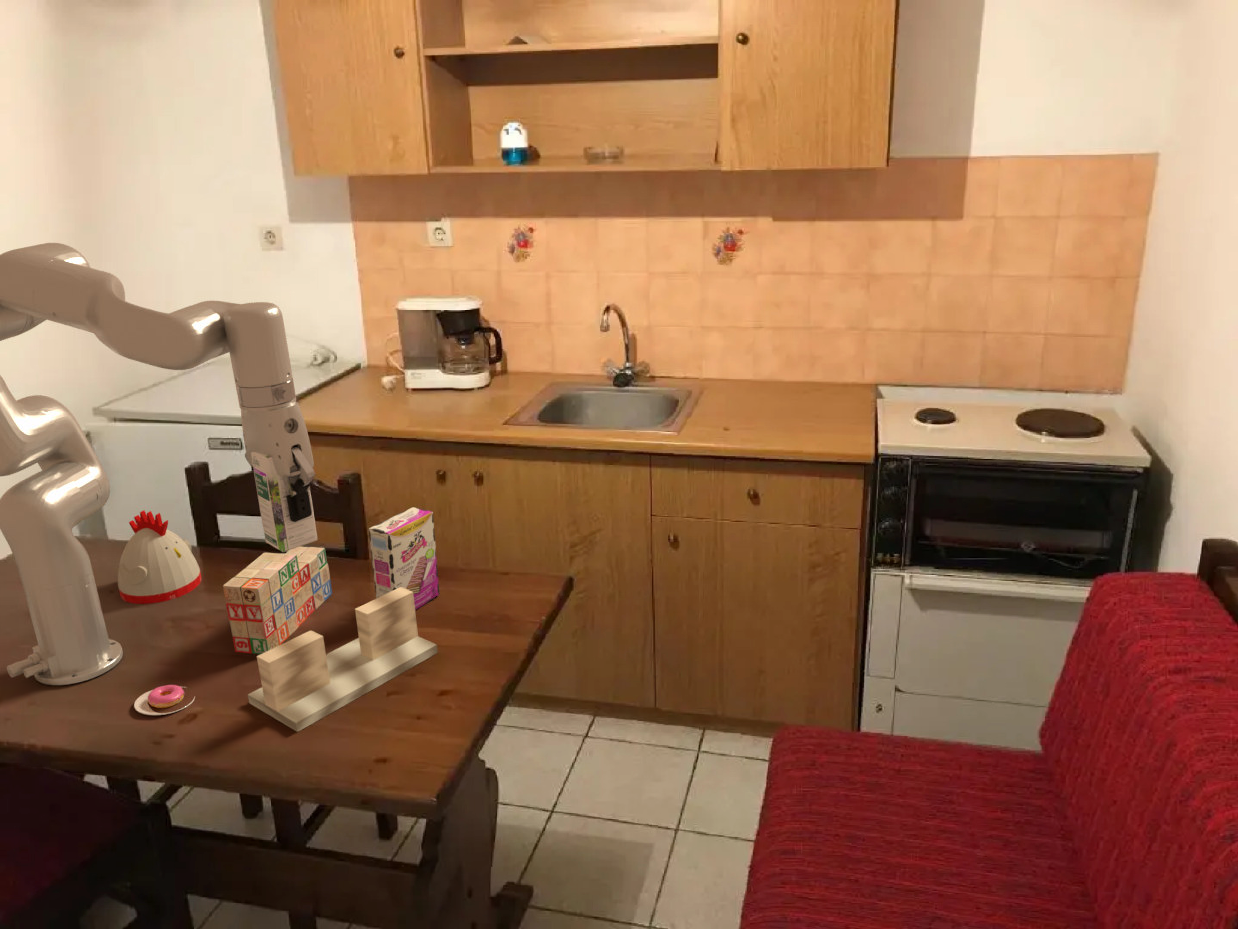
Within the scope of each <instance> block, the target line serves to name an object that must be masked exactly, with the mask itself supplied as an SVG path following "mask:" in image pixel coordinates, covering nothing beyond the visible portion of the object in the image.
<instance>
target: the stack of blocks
mask: <svg viewBox="0 0 1238 929" xmlns="http://www.w3.org/2000/svg"><path fill="white" fill-rule="evenodd" d="M329 569H330V568H329V564H328V561H327V553H326V548H325V547H317V546H300V547H297V548H294V549H291V550H289V551H286V553H285V552H284V553H275V552H274V553H273V552H263V553H262V554H261V555H260V556H258V557H257V558H256V559H255V560H254V561H252V562H250V564H248V565H247V566H246V567H245V568H243V569H242V570H241V571H240V572H238V573H237V574H236V575H234V577H232V578H230V580H228V581H227V582H226V583H224V584H223V585H222V587H223V592H224V598H225V606H226V608H225V609H226V611H227V612H226V613H227V619H228V620H229V626H230V630H231V635H232V642H233V647H234V652H236V653H243V654H256V655H261V654H263V653H265V652H267V651H269V650H271V649H273V648H275V647H277V646H279V645H281V644H283V643H285V641H286V640H287V639H288V638H289V637H290V636H291V635H292V634H293V633H295V632H296V631H297V629H298V628H299V627H300V626H301V625H302V624H303V623H304V622H305V621H306V620H307V619H308V618H309V617H310V616H311V615H312V614H313V612H315V611H316V610H317V609H318V608H319V607H320V606H321V605H323V603H325V602H326V601H327V599H329V598H330V596H332V595H333V591H332V590H333V589H332V582H331V575H330V570H329Z"/></svg>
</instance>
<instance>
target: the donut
mask: <svg viewBox="0 0 1238 929" xmlns="http://www.w3.org/2000/svg"><path fill="white" fill-rule="evenodd" d="M183 688H185V689H187V687H186V686H181V685H180V686H179V685H176V684H167V685H162V686H158V687H155V688H154V689H152V690H149V691H147V692H144V693H143V694H141V695H140V696H139V697H138V698H137V699H136V700H135V701H134V703H133V708H134V709H135V711H136V712H138V713H140V714H142V715H146V716H163V715H169V714H174V713H176V712H179V711H183V709H186V708H187V707H189V706H190V705H192V703H193V702H194V701H195V698H196V696H194V697H193V698H192V701H190V703H188V704H187V705H185V706H184V707H181V708H180V709H177V710H174V711H168V712H156V711H155V710H153V709H152V708H151V707H150V706H152V707H153V708H157V709H167V708H170V707H173V706H175V705H177V704H179V703H180V702H182V701H183V699H184V696H185V691H184V689H183Z"/></svg>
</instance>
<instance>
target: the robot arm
mask: <svg viewBox="0 0 1238 929" xmlns="http://www.w3.org/2000/svg"><path fill="white" fill-rule="evenodd" d="M46 321H51V322H53V323H57V324H61V325H64V326H68V327H71V328H75V329H78V330H81V331H85V332H87V333H88V332H89V333H92V334H94V335H95V337H96V338H97V340H98V341H99V342H100V343H102V344H103V345H104V346H106V347H107V348H108V349H109V350H111V351H112V352H114V353H115V354H117V355H118V356H121V357H124V358H126V359H129V360H131V361H134V362H139V363H142V364H145V365H149V366H152V367H157V368H159V369H164V370H172V371H186V370H191V369H194V368H196V367H198V366H200V365H202V364H204V363H206V362H208V361H210V360H213V359H216V358H218V357H221V356H223V355H225V354H229V358H230V363H231V368H232V369H231V370H232V373H233V378H234V384H235V389H236V395H237V400H238V405H239V409H240V415H241V416H240V418H241V428H242V436H243V442H244V444H243V445H244V449H245V454H244V457H245V459H246V461H247V462H248V464H249V466H250V469H251V471H252V472H253V474H254V469H253V463H252V457H251V452H257V453H260V454H264V455H268V456H272V459H273V462H274V466H275V469H276V472H277V475H279V476H282V477H283V480H284V482H285V485H286V487H287V490H288V493H289V495H287V496H286V497H287V503H288V509H289V514H290V520H291V521H292V522H297V521H299V520H302V519H304V518H307V517H309V516H311V515H312V511H311V505H310V499H309V493H308V491H309V490H310V491H311V485H312V481H313V479H314V478H315V476H316V471H315V470H314V465H315V462H314V456H313V451H312V446H311V442H310V437H309V434H308V428H307V426H306V425H307V424H306V421H305V418H304V416H303V412H302V410H301V407H300V405H299V402H297V395H296V389H295V384H294V377H293V372H292V365H291V358H290V353H289V347H288V341H287V335H286V329H285V323H284V317H283V313H282V311H281V308H280V307H279V305H276V304H275V303H272V302H266V301H263V302H262V301H259V302H258V301H256V302H255V301H254V302H247V303H245V302H244V303H235V302H229V301H221V300H204V301H201V302H198V303H195V304H192V305H188V306H186V307H183V308H181V309H178V310H177V309H176V310H175V311H172V312H170V313H168V312H162V311H158V310H154V309H150V308H146V307H142V306H139V305H136V304H133V303H130V302H128V301H126V292H125V288H124V284H123V282H122V281H121V279H119V278H118V277H117V275H115V274H113V273H110V272H107V271H104V270H99V269H96V268H92V267H91V265H90V263H89V262H88V260H87V258H85V256H84V255H83V254H82V253H81V252H80V251H78V250H77V249H76V248H74V247H72V246H70V245H67V244H64V243H61V242H60V243H59V242H45V243H41V244H35V245H31V246H25V247H21V248H14V249H11V250H10V249H9V251H6V252H3V253H1V254H0V342H1V341H4V340H5V341H6V340H8V339H10V338H14V337H17V336H19V335H22V334H25V333H26V332H29V331H30V330H32V329H34V328H36V327H37V326H39V325H41V324H42V323H43V322H46ZM6 383H7V382H5V379H4V378H3V377H2V376H1V375H0V477H6V476H11V475H15V474H16V473H19V472H21V471H23V470H26V469H27V468H30V467H32V466H33V465H35V464H38V466H39V468H40V471H37V472H36V473H35V474H34V473H33V474H32V475H30V476H29V477H26V478H25V479H23V480H20V481H19V482H17V483H16V484H14V485H13V486H11V487H10V488H9V489H7V490H6V491H5V492H4V493H3V495H2V496H1V497H0V532H1V533H2V536H3V537H4V538H5V540H6V542H7V544H8V547H9V548H10V551H11V553H12V556H13V558H14V561H15V563H16V568H17V571H18V575H19V578H20V581H21V585H22V588H23V591H24V592H23V593H24V596H25V599H26V603H27V608H28V611H29V615H30V619H31V622H32V623H31V624H32V626H33V630H34V633H35V637H36V640H37V645H35V646H32V648H31V649H32V651H33V653H32V654H29V655H28V656H27V658H26V659H23V660H20V661H16V662H14V663H11V664H9V665H7V666H6V669H7V673H8V674H9V676H10V678H15V677H17V676H21V675H22V674H23V675H24V677H25V678H27V679H29V677H32V676H34V678H35V680H36V681H38V682H39V683H41V684H44V685H50V686H65V685H73V684H78V683H82V682H85V681H89V680H91V679H95V678H96V677H99V676H101V675H103V674H105V673H106V672H109V671H110V670H111V669H113V668H114V667H115V666H116V665H118V663H119V662H120V661H121V660H122V658H123V656H124V652H123V651H124V650H123V648H122V644H121V643H119V641H116V640H115V639H111V638H109V634H108V630H107V626H106V622H105V618H104V614H103V610H102V605H101V601H100V597H99V596H100V595H99V593H98V588H97V585H96V584H97V583H96V580H95V574H94V572H93V571H94V570H93V567H92V564H91V559H90V556H89V554H88V551H87V550H86V547H85V546H84V545H83V544H82V543H81V542H80V541H79V540H78V539H77V538H76V536H75V535H74V533H73V528H74V527H76V526H77V525H79V524H80V523H82V522H83V521H85V520H86V519H88V518H89V517H91V516H92V515H94V514H95V513H97V512H98V511H100V510H101V509H102V508H103V507H104V506H105V505H106V503H107V502H108V500H109V498H110V494H111V492H110V491H111V490H110V488H111V487H110V482H109V478H108V475H107V474H106V471H105V469H104V467H103V466H102V463H101V462H100V460H99V458H98V456H97V455H96V453H95V451H94V449H93V448H92V445H91V444H90V442H89V440H88V438H87V436H86V435H85V432H84V431H83V428H82V427H81V425H80V424H79V422H78V421H77V419H76V417H75V416H74V414H73V413H72V411H71V410H69V409H68V407H66V406H65V405H64V404H63V403H61V402H60V401H58V400H57V399H55V398H52V397H50V396H45V395H38V394H37V395H35V394H34V395H30V396H25V397H22V398H20V399H18V400H16V398H15V397H14V395H13V394H12V393H11V391H10V389H9V387H8V385H7V384H6ZM300 449H301V450H300ZM293 467H297V469H298V470H297V471H294V472H292V473H291V472H290V469H291V468H293ZM296 475H298V479H297V480H296V482H295V484H293V482H292V479H291V477H293V476H296Z"/></svg>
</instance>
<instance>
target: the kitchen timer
mask: <svg viewBox="0 0 1238 929" xmlns="http://www.w3.org/2000/svg"><path fill="white" fill-rule="evenodd" d="M133 518H134V519H132V520H130V521H128V523H129V526H130V527H131V529H132V530H133V532H134V534H133V535H132V536H131V537H130V539H129V540H128V541H127V542H126V545H125V547H124V549H123V551H122V553H121V556H120V560H119V563H118V564H119V565H118V572H117V586H118V591H119V595H120V598H121V599H122V600H123V601H124V602H126V603H130V604H138V605H139V604H140V605H147V604H148V605H149V604H158V603H162V602H166V601H167V602H168V601H170V600H175V599H177V598H180V597H183V596H185V595H186V594H188V593H190V592H193V590H195V589H196V588H197V587H198V586H199V585H200V584H201V582H202V572H201V569H200V566H199V564H198V562H197V560H196V558H195V556H194V554H193V553H192V548H193V547H192V545H191V543H190V542H189V541H188V540H187V539H182V538H181V537H180V536H179V535H178V534H176V533H174V532H173V531H171V530H169V529H168V524H169V520H164V522H163V519H162V515H161V513H160V512H159V513H156V514H155V516H154V514H153V512H152V511H148V512H147V513H146V511H145V510H144V509H143V510H142V511H140V512H139V515H138V514H137V515H135V516H134V517H133Z"/></svg>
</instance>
